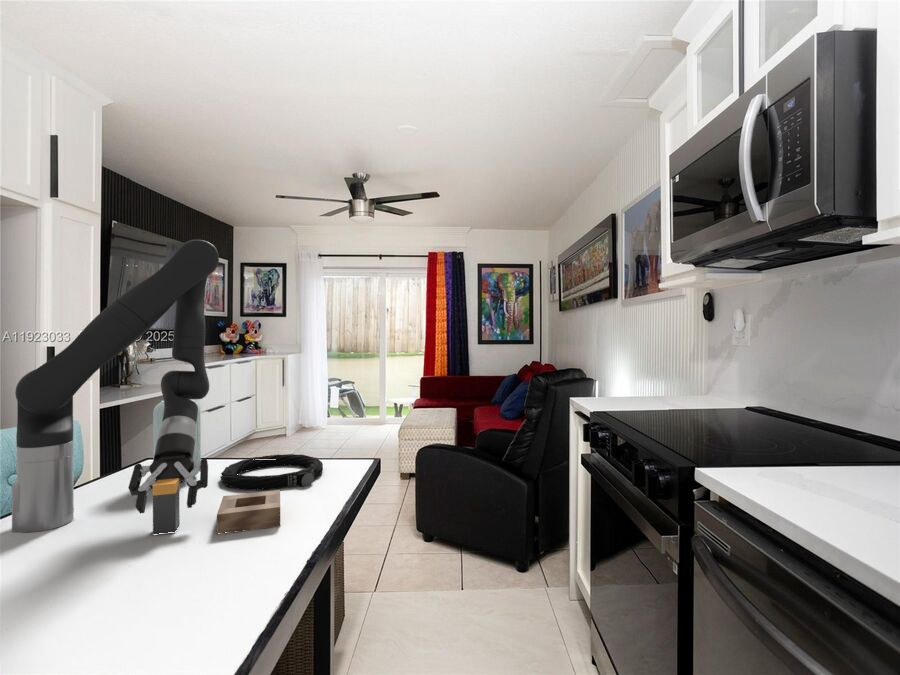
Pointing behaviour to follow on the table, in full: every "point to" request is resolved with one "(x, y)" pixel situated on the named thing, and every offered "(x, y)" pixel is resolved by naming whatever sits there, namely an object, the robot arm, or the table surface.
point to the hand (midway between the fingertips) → (165, 508)
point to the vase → (157, 423)
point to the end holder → (249, 511)
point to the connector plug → (166, 506)
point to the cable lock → (272, 481)
